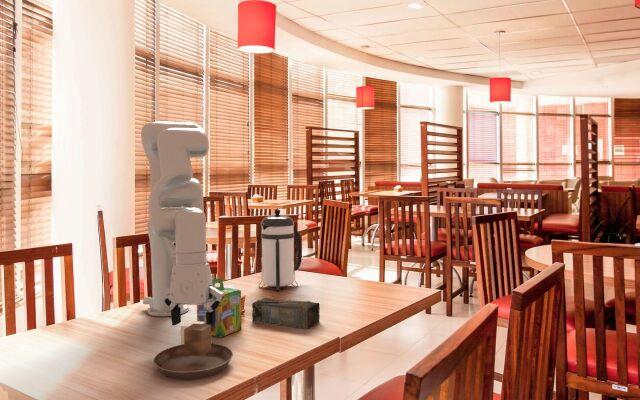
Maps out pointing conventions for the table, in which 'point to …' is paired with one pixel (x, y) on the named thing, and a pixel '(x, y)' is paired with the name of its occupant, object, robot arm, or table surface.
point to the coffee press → (279, 251)
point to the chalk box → (224, 311)
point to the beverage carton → (286, 312)
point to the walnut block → (197, 339)
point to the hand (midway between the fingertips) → (193, 325)
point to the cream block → (186, 327)
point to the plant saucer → (192, 362)
